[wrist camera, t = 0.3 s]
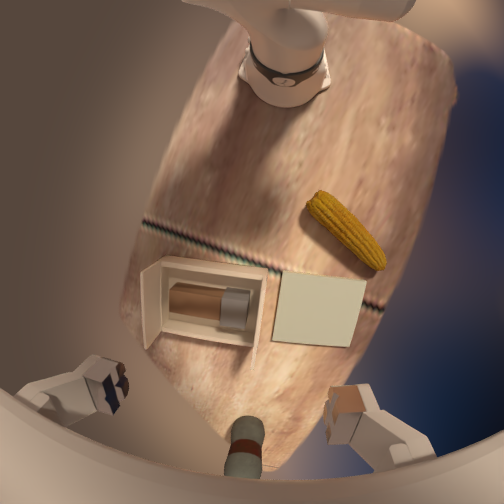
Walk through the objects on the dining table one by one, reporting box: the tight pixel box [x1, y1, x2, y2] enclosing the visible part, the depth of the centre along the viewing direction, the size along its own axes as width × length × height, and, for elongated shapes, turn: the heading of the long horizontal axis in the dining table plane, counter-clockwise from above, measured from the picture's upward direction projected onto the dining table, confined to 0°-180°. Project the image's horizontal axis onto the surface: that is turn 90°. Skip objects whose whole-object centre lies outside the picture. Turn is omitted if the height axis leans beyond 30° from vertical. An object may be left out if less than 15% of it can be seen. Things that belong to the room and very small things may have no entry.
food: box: [306, 190, 387, 271], centre depth 51 cm, size 21×6×6 cm, turn 51°
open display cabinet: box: [140, 255, 268, 370], centre depth 53 cm, size 16×22×13 cm
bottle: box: [224, 416, 265, 479], centre depth 52 cm, size 9×9×30 cm
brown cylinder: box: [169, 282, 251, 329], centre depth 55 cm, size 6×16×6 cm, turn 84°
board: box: [272, 270, 367, 347], centre depth 57 cm, size 16×18×1 cm
